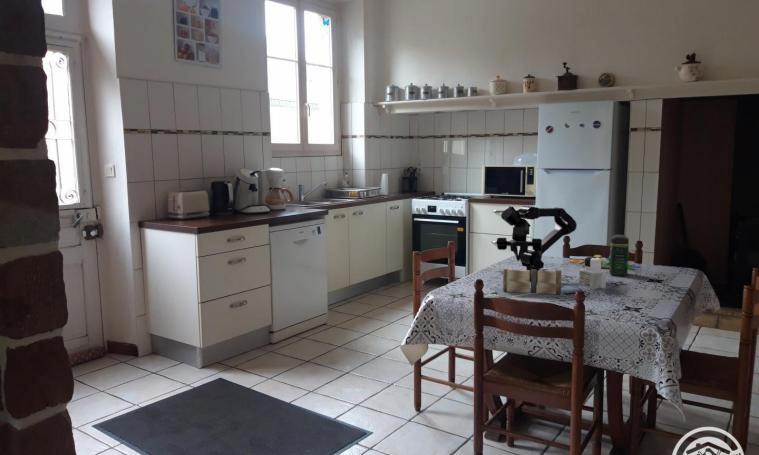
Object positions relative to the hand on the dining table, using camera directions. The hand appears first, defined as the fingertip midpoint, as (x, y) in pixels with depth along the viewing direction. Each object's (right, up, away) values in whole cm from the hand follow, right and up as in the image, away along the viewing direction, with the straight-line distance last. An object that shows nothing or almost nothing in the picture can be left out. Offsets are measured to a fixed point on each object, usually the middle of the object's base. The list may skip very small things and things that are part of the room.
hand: (517, 260), depth 245 cm
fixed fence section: (+10, -13, -10) cm, 19 cm away
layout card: (+3, -13, -6) cm, 15 cm away
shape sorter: (+55, -6, +49) cm, 73 cm away
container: (+32, -12, +2) cm, 34 cm away
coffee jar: (+54, -8, +27) cm, 60 cm away
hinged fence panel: (-1, -13, -6) cm, 14 cm away
